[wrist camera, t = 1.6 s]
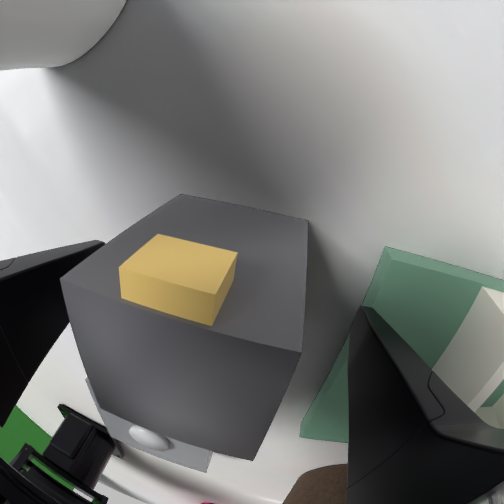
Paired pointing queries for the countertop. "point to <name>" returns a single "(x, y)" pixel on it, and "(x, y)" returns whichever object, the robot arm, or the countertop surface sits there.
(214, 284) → the plug
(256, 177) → the countertop surface
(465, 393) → the board
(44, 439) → the cereal box
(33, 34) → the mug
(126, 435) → the gray button block
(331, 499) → the plant pot
